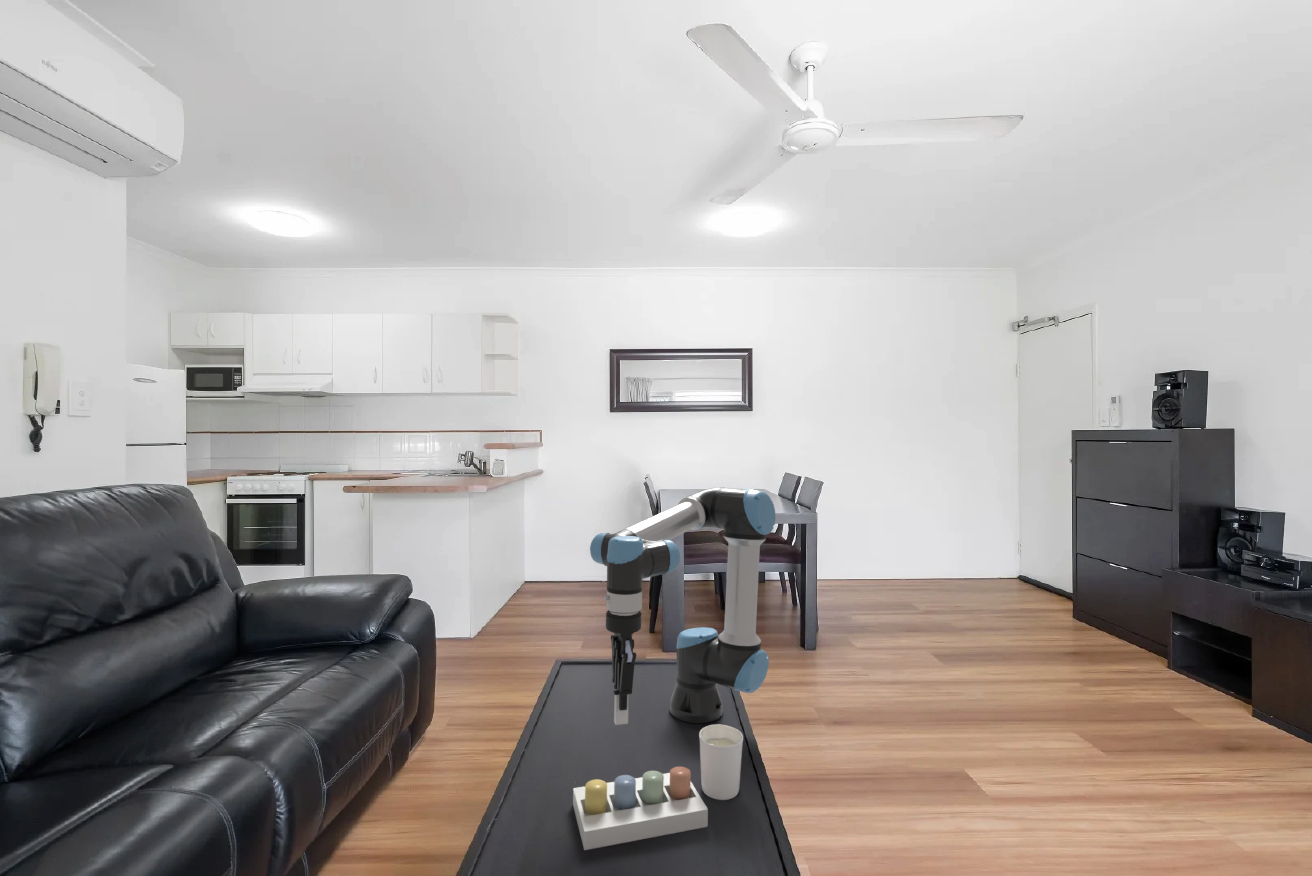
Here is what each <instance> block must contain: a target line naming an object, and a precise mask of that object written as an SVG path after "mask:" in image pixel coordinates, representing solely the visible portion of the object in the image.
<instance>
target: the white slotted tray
mask: <svg viewBox="0 0 1312 876" xmlns="http://www.w3.org/2000/svg"><path fill="white" fill-rule="evenodd" d="M662 774H663V776H664V785H663V801H662V802H661V803H660V804H654V805H648V804H646V803H644V802H643V800H642V779H643V776H640V777H634V778H635V780H636V799H635V806H634V807H633V808H631V809H625V810H620V809H617V808H616V807H615V806H614V781H611V782H606V783H607V809H606V811H605V812H604V813H602V814H596V815H590V814H588V813H587V812H586V811H585V786H584V785H583V786H578V787H574V788H572V791H573V793H572V806H573V810H574V815H575V819H576V823H577V826H578V830H579V834H580V838H581V842H582V843H581V844H582V847H583V851H589V850H593V849H598V848H604V847H608V846H609V847H610V846H614V845H620V844H625V843H630V842H636V841H640V840H644V839H651V838H657V837H661V836H666V835H672V834H677V833H683V832H687V831H692V830H697V829H703V828H708V824H709V822H708V821H709V820H708V819H709V809H708V807H707V805H706V804H705V802H704V801H703V799H702V797H701V796H700V794H699V792H698V791H697V789H696V787H695V786H694V784H693V782H692V781H691V785H690V797H689V798H688V799H683V800H675V799H673V798H672V797H671V796H670V772H667V773H662Z"/></svg>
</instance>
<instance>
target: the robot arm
mask: <svg viewBox="0 0 1312 876" xmlns="http://www.w3.org/2000/svg"><path fill="white" fill-rule="evenodd" d="M775 509H776V508H775V506H774V501H773V500H772V498H771V497H770V496H769V494H768V493H767V492H765V491H762V490H756V489H752V488H750V489H748V488H747V489H746V488H732V487H721V486H720V487H719V486H718V487H712V488H708V489H704V490H701V491H698V492H696V493H693V494H690V495H688V496H686V497H683V498H682V499H680V501H679V503H678V504H677V505H675V506H673V507H671V508H670V507H669V508H668V509H666V510H663V511H661V512H659V513H658V514H655V515H653V516H650V517H647V518H646V519H644V520H642V521H639V522H637V523H635V524H633V525H631V526H629V527H627V528H624V529H622V530H620V531H617V532H615V533H611V532H600V533H598V534H596V535H595V536H594V537H593V539H592V540H591V542H590V546H589V552H590V553H589V554H590V556H591V559H592V560H593V561H594V563H597V564H600V565H604V567H606V595H604V597H603V599H604V601H606V606H605V607H606V609H607V611H606V612H605V629H606V630H607V631H608V632H609V633H612V634H611V635H610V640H611V641H610V642H611V666H612V667H611V668H612V669H611V670H612V672H611V673H612V680H611V681H612V683H613V684H614V685H613V688H614V690H613V695H614V703H613V704H614V708H613V709H614V711H613V713H614V714H613V715H614V716H613V722H614V725H615V726H620V725H628V724H629V704H630V703H629V700H630V695H632V693H633V684H634V674H635V665H636V664H635V663H636V660H637V653H636V651H634V649H635V640H634V639H633V634H635V633H637V632H639V631H640V630H641V629H642V612H641V611H642V608H643V580H645V579H648V578H652V577H656V576H660V575H661V576H662V575H663V576H664V575H666V574H668V573H671V572H674V571H675V570H676V569H677V568H678V566H679V564H680V561H681V552H680V549H679V547H678V545H677V544H676V543H675V542H674V541H672V540H673V539H674V538H676V537H678V536H680V535H682V534H684V533H686V532H688V531H697V530H700V529H702V528H717V529H723V535H722V536H723V538H724V540H725V541H726V542H727V543H728V544H727V545H728V546H727V547H728V548H727V549H728V550H727V562H726V563H727V564H726V565H727V566H726V568H727V569H726V584H725V585H726V586H725V587H726V588H725V606H724V609H725V610H724V628H723V631H721V633H720V634H719V633H718V630H717V629H715V628H713V627H704V626H702V627H692V628H688V629H685V630H683V631H681V632H680V633H679V634H678V636H677V640H676V641H677V643H676V679H675V680H676V682H675V686H674V689H673V692H672V695H671V698H670V700H669V712H670V713H671V716H673V717H674V718H675V719H677V720H680V721H683V722H686V723H691V724H706V723H707V724H708V723H712V722H714V721H717V720H719V719H720V718H721V717H722V716H723V702H722V699H721V698H722V697H721V695H720V692H719V688H718V685H721V686H723V687H726V688H729V689H731V690H735V691H736V692H741V693H745V694H752V693H755V692H756V691H757V690H759V689H760V688H761V686H762V685H763V683H764V682H765V679H766V677H767V674H768V670H769V666H770V658H769V654H768V653H767V651H765V650H764V649H761V648H762V640H761V638H760V637H759V636H758V634H757V633H756V632H757V611H758V594H759V593H758V592H759V590H758V589H759V571H760V570H759V569H760V547H761V545H762V544H763V543H764V542H765V541H766V540H767V539H766V538H767V535H769V534H770V533H772V531H773V530H774V526H775V524H776V510H775ZM720 716H721V717H720Z"/></svg>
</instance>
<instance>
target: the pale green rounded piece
mask: <svg viewBox="0 0 1312 876" xmlns="http://www.w3.org/2000/svg"><path fill="white" fill-rule="evenodd" d="M663 774H664V773H662V772H660V771H657V770H648V771H646V772H644V773H643V774H642V777H643V779H642V800H643V802H644V803H646V804H648V805H654V804H660V803H661V802H662V801H663V785H664V776H663Z"/></svg>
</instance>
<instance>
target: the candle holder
mask: <svg viewBox="0 0 1312 876" xmlns="http://www.w3.org/2000/svg"><path fill="white" fill-rule="evenodd" d="M698 737H699V738H698V739H699V754H700V755H699V757H700V759H699V762H700V763H699V764H700V780H701V781H700V782H701V790H702V791H703V793H704V794H705V795H706V796H707V797H709V798H710V799H711V798H712V799H715V800H718V801H726V800H727V801H728V800H730V799H734V798H735V797H736V796H737V795H738V793H739V791H740V782H741V768H742V758H743V757H742V755H743V742H744V735H743V733H742V732H741V731H740V730H739V729H737V728H736V727H733V726H732V725H726V724H719V723H718V724H710V725H707V726H706V725H705V727H702V728H701V729H700V730H699V733H698Z"/></svg>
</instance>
